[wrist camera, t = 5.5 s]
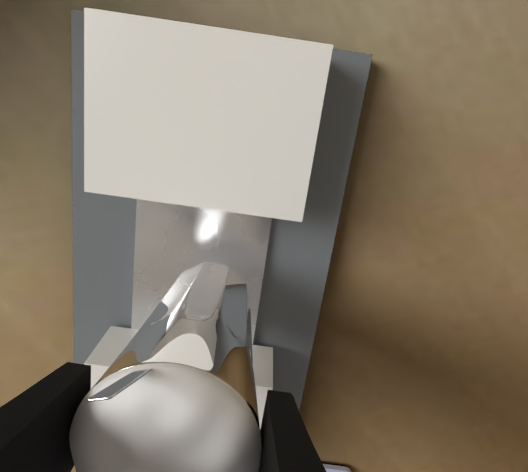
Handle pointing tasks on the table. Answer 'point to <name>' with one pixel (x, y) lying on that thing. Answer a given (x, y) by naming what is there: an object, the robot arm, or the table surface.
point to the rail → (193, 250)
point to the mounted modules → (199, 127)
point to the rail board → (279, 246)
